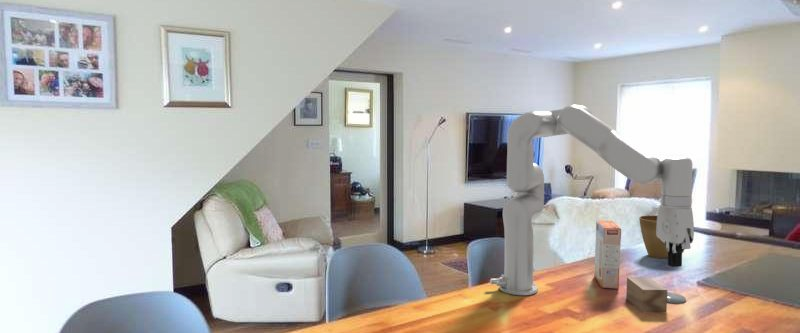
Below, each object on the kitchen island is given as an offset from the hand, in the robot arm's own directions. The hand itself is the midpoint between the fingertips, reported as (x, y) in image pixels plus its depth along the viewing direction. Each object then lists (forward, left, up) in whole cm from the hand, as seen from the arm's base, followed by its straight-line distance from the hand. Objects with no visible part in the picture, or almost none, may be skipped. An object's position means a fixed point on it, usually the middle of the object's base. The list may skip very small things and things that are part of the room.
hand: (674, 265), depth 143 cm
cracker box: (0, +34, -16) cm, 37 cm away
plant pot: (+40, +63, -16) cm, 76 cm away
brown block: (0, +12, -16) cm, 20 cm away
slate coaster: (+11, +16, -16) cm, 25 cm away
